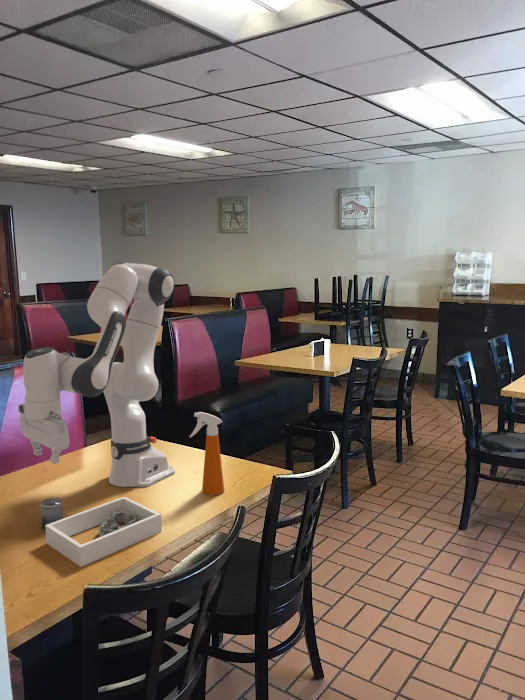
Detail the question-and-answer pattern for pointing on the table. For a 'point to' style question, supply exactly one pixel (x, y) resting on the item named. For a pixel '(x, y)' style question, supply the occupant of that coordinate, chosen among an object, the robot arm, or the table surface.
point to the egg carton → (115, 518)
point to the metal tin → (51, 511)
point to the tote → (108, 543)
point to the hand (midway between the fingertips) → (46, 458)
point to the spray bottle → (211, 454)
